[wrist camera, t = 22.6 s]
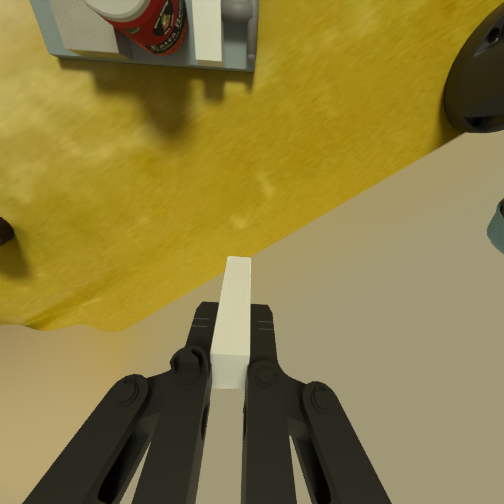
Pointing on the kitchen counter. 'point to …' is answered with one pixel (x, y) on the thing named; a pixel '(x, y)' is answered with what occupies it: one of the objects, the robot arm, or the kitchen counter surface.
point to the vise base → (196, 39)
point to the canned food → (146, 21)
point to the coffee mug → (5, 231)
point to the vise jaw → (88, 31)
